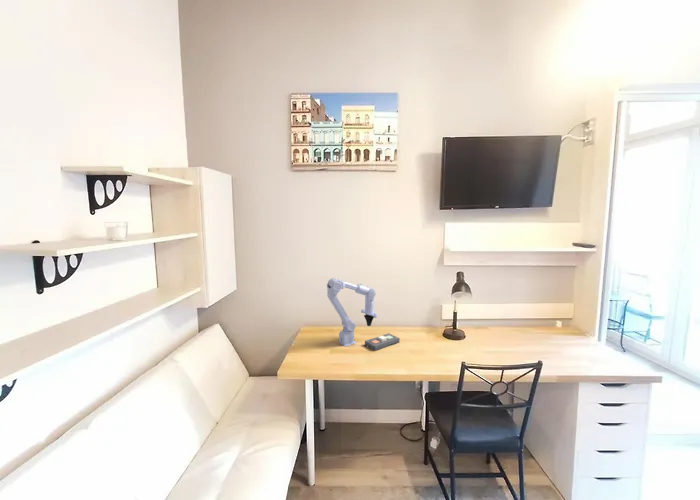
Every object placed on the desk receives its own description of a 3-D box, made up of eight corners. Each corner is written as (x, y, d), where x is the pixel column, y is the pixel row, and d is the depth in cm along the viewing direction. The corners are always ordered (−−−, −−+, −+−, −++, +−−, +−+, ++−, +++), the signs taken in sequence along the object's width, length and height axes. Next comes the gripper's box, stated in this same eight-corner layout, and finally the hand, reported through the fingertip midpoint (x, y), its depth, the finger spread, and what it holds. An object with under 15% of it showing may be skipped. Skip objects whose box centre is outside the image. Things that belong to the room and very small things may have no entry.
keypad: (375, 351, 203) (375, 346, 202) (364, 345, 211) (364, 340, 210) (399, 342, 215) (399, 338, 215) (388, 337, 223) (388, 333, 223)
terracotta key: (375, 346, 206) (375, 343, 206) (370, 343, 210) (371, 341, 209) (379, 344, 209) (379, 341, 209) (375, 342, 212) (375, 339, 212)
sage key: (389, 341, 214) (389, 338, 213) (384, 339, 217) (384, 336, 217) (393, 339, 216) (393, 337, 216) (389, 337, 219) (389, 335, 219)
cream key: (382, 341, 210) (382, 339, 210) (378, 339, 213) (378, 337, 213) (386, 340, 212) (386, 337, 212) (382, 338, 215) (382, 335, 215)
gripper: (381, 307, 214) (381, 327, 216) (366, 302, 225) (366, 321, 227) (373, 309, 210) (372, 329, 212) (358, 303, 221) (358, 323, 223)
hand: (369, 325), depth 219 cm, fingers closed
